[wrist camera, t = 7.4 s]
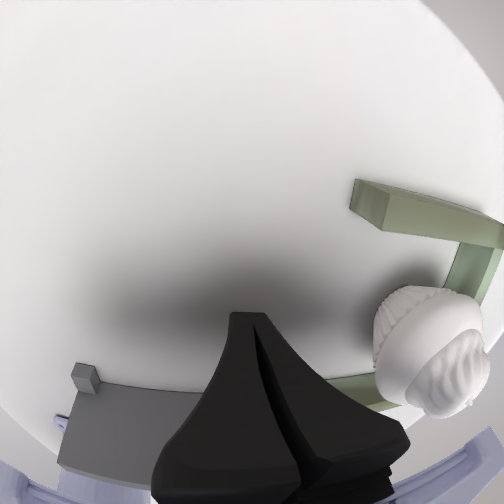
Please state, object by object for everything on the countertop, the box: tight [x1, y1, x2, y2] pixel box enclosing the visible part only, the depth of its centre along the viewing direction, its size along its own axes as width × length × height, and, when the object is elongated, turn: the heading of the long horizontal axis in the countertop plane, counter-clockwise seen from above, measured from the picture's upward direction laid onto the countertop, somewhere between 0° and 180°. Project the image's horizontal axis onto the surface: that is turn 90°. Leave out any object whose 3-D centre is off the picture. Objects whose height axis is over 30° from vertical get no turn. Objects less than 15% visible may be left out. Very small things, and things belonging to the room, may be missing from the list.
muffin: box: [373, 285, 490, 418], centre depth 10 cm, size 6×6×7 cm
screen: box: [57, 363, 203, 491], centre depth 11 cm, size 4×12×6 cm, turn 83°
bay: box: [326, 179, 504, 412], centre depth 12 cm, size 12×9×2 cm
